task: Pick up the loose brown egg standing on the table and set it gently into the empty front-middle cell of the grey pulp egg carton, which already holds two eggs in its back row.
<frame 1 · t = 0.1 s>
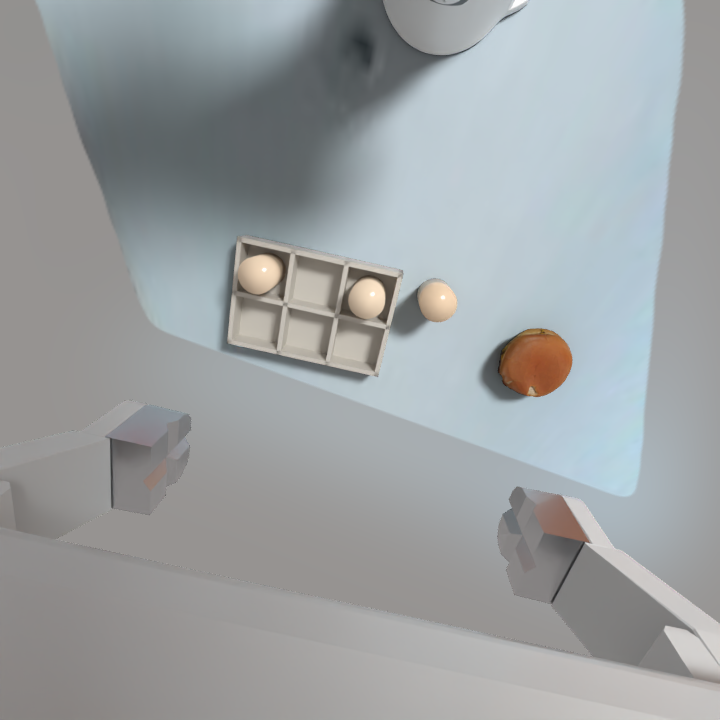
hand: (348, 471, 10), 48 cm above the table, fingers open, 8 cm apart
egg b: (369, 292, 56), point 1 cm above the table, touching carton
egg: (433, 295, 56), on the table
egg a: (269, 269, 56), point 1 cm above the table, touching carton
burger: (529, 358, 58), on the table
carton: (315, 304, 58), on the table
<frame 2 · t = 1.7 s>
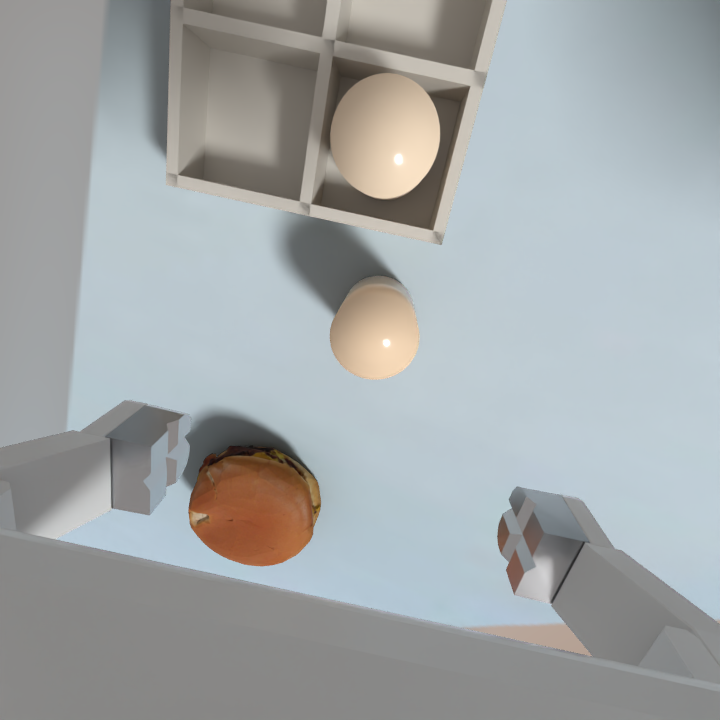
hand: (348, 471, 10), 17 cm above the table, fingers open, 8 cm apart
egg b: (387, 156, 22), point 1 cm above the table, touching carton
egg: (378, 311, 26), on the table
burger: (264, 486, 32), on the table
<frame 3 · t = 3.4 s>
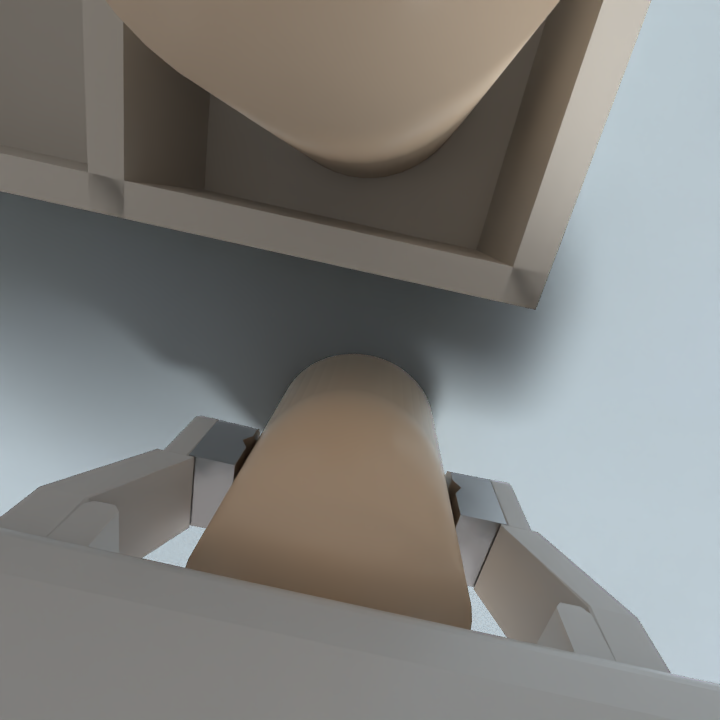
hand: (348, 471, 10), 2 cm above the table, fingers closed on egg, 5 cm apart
egg b: (370, 55, 8), point 1 cm above the table, touching carton
egg: (355, 426, 12), on the table, touching gripper
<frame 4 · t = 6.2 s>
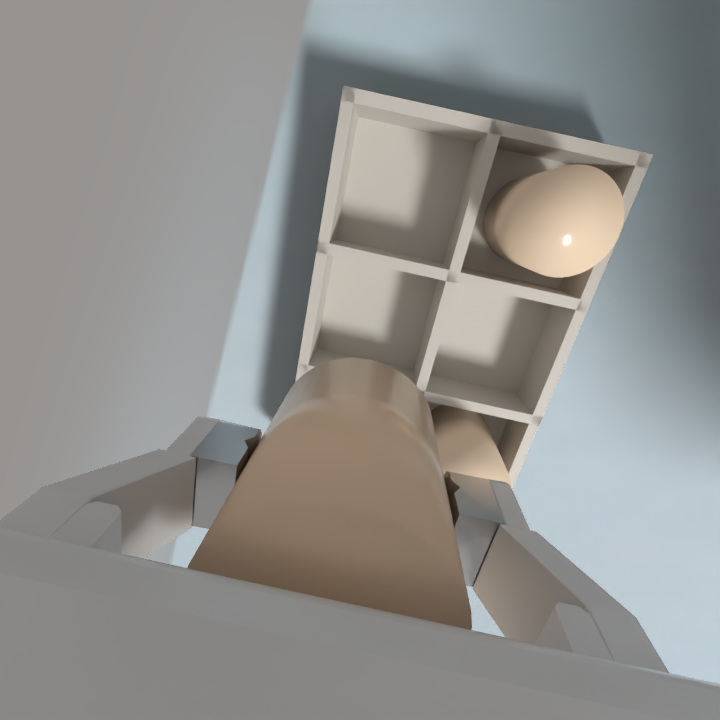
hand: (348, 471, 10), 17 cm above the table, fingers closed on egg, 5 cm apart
egg b: (453, 432, 28), point 1 cm above the table, touching carton
egg: (355, 430, 12), point 15 cm above the table, touching gripper
egg a: (524, 220, 23), point 1 cm above the table, touching carton
carton: (429, 322, 26), on the table
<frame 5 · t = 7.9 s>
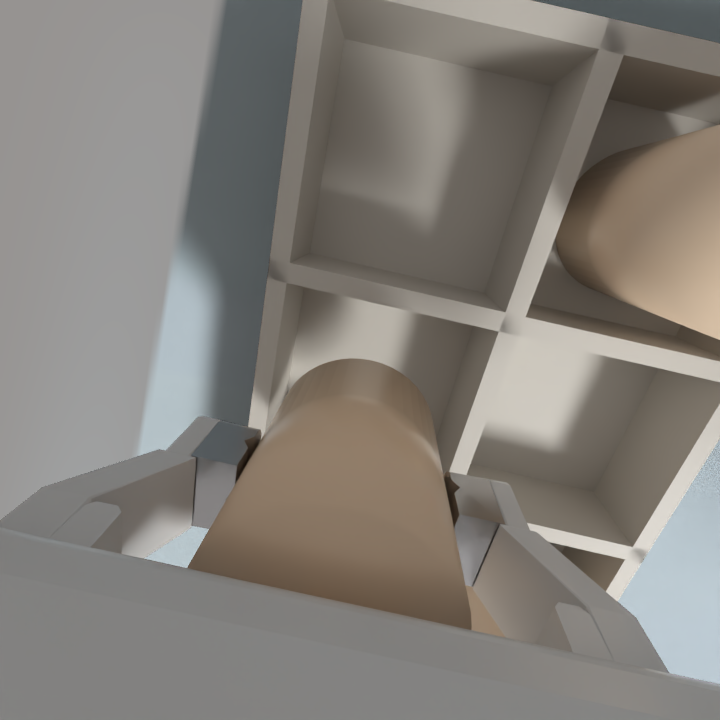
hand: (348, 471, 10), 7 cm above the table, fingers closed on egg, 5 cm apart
egg b: (489, 542, 18), point 1 cm above the table, touching carton
egg: (355, 430, 12), point 5 cm above the table, touching gripper
egg a: (627, 224, 13), point 1 cm above the table, touching carton
carton: (458, 382, 16), on the table
when the fingers open (5 cm above the table, at t = 8.9 s): egg drops 2 cm, resting on carton.
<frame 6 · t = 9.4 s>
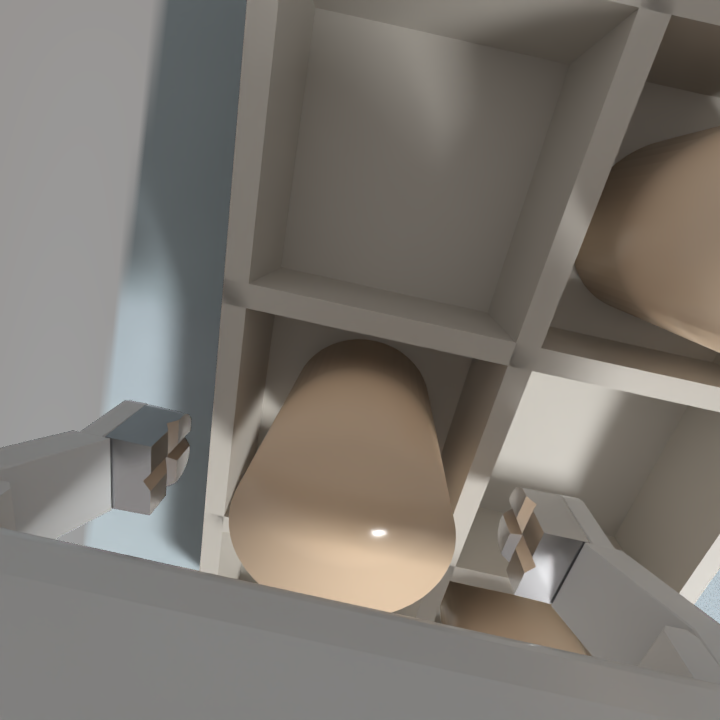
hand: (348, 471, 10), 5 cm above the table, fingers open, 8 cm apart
egg b: (495, 591, 16), point 1 cm above the table, touching carton
egg: (360, 403, 14), point 1 cm above the table, touching carton
egg a: (658, 231, 11), point 1 cm above the table, touching carton
carton: (458, 414, 14), on the table
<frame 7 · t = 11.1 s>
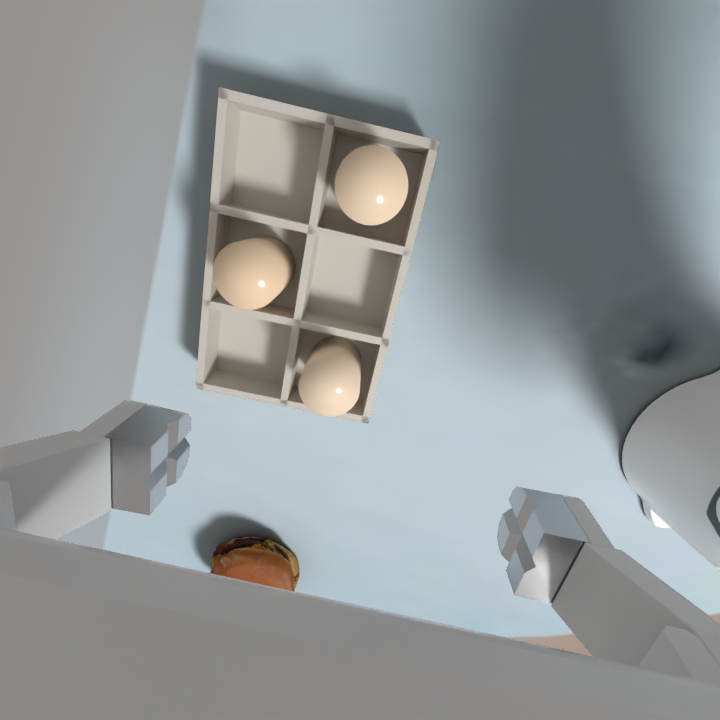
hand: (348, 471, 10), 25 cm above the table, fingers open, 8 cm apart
egg b: (335, 360, 36), point 1 cm above the table, touching carton
egg: (267, 264, 33), point 1 cm above the table, touching carton
egg a: (371, 191, 31), point 1 cm above the table, touching carton
burger: (258, 560, 45), on the table
carton: (310, 271, 33), on the table
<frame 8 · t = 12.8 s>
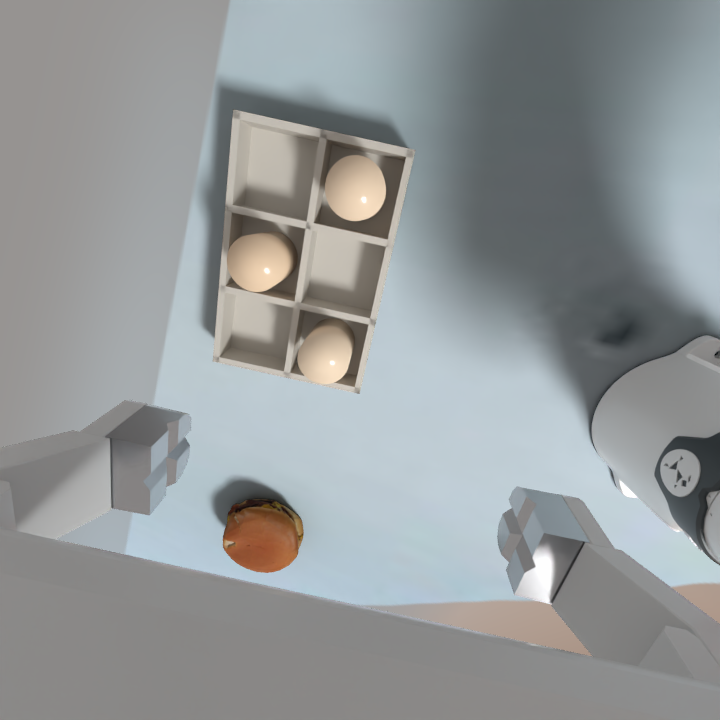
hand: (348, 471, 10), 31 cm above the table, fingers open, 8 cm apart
egg b: (332, 339, 41), point 1 cm above the table, touching carton
egg: (274, 256, 38), point 1 cm above the table, touching carton
egg a: (360, 192, 36), point 1 cm above the table, touching carton
burger: (268, 522, 51), on the table
carton: (310, 262, 39), on the table
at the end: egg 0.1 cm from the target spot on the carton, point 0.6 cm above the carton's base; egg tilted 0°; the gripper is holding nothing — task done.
